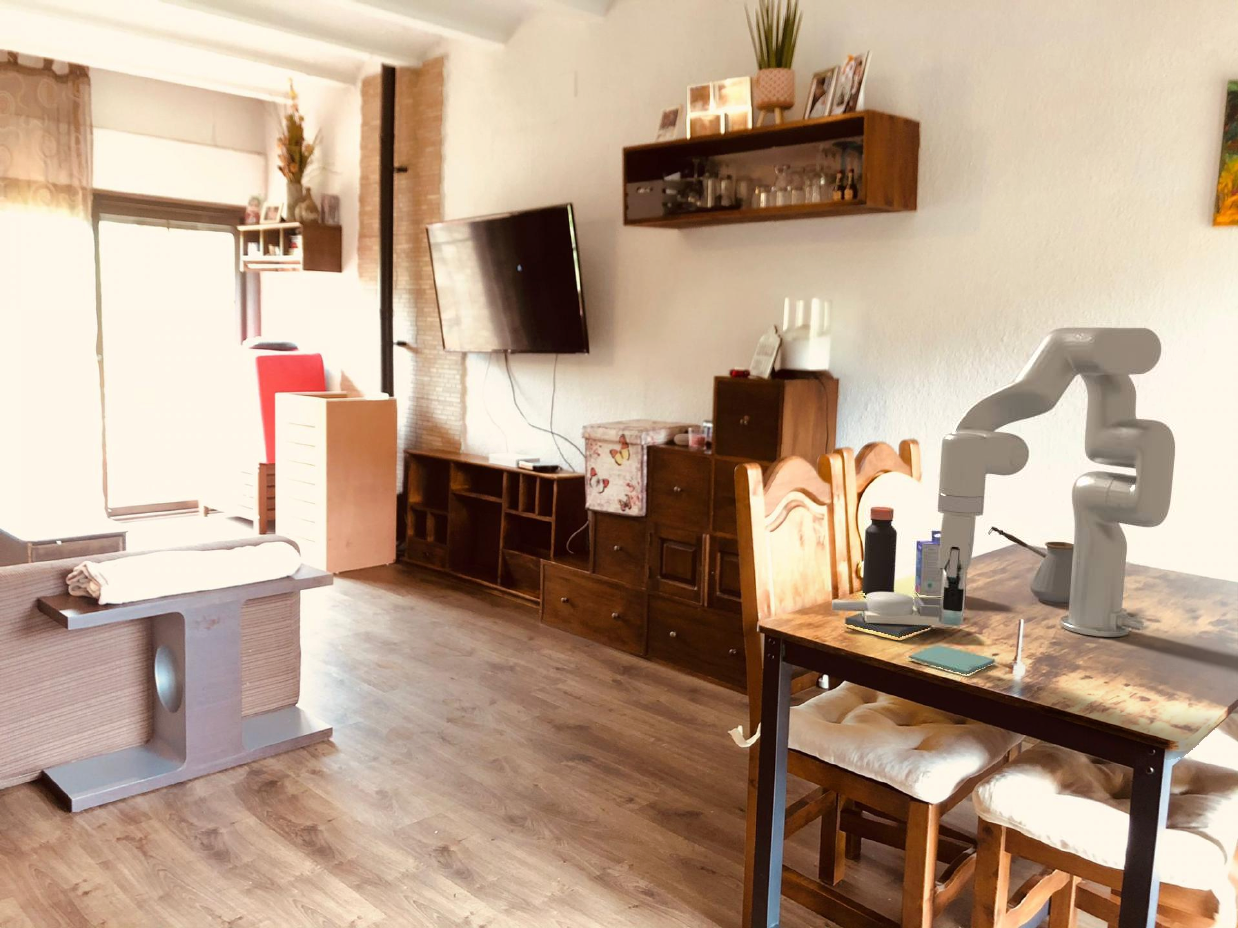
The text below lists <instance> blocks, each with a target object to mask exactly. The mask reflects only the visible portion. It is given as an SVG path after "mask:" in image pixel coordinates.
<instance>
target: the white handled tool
mask: <svg viewBox="0 0 1238 928" xmlns="http://www.w3.org/2000/svg"><path fill="white" fill-rule="evenodd" d="M940 601H941V598H937V597H919V596H913V597H912V596H910V595H907V594H904V593H898V592H894V593H893V592H873V593H869V594H867V595H866V598H865V600H864V601H863V600H861V601H860V600H842V599H841V600H839V599H836V600H835V599H833V600H832V601H831V611H843V612H844V611H845V612H859V613H861V614H862V615H863V617H864V619H865V621H866V623H888V624H911V625H932V626H939V627H954V626H953V625H946V624H942V623H940V622H939V613H940ZM956 627H958V628H959V627H961V625H959V626H956Z"/></svg>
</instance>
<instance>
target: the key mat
mask: <svg viewBox="0 0 1238 928" xmlns="http://www.w3.org/2000/svg"><path fill="white" fill-rule="evenodd" d="M909 658H911V659H915V660H917V661H921V662H923V663H927V664H929V665H934V666H936V667H941V668H943V669H947V670H951V671H953V672H959V673H961V674H966V675H967V674H970V673H972V672H975V671H976V670H979V669H982V668H984V667H987V666H988V665H991V664H993V663H995V662H996V659H995V658H991V657H989V656H985V655H980V654H976V653H973V652H972V653H971V652H969V651H964V650H961V649H956V648H952V647H949V646H945V645H941V644H936V645H933V646H930V647H928V648H926V649H922V650H920V651H918V652H915V653H912V654H910V655H908V659H909Z"/></svg>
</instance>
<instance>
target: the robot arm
mask: <svg viewBox="0 0 1238 928" xmlns="http://www.w3.org/2000/svg"><path fill="white" fill-rule="evenodd" d="M1161 355H1162V343H1161V340H1160V338H1159V337H1158V335H1157V334H1156V332H1154V331H1153V330H1151V329H1150V328H1146V327H1060V328H1057V329H1056V328H1055V329H1053V330H1051V331H1050V332H1048V333H1047V334H1046V335H1045V336H1043V339H1042V340H1041V341H1040V342H1039V343H1038V345H1037V347H1035V349H1034V350H1033V353H1031V355H1030V357H1029V358H1028V359H1027V360H1026V362H1025V363H1024V365H1023V367H1022V368H1021V369H1020V371H1019V372H1018V373H1017V375H1016V376H1015V378H1014V379H1013V380H1012V381H1011V382H1010V383H1008V384H1006V385H1004V386H1002V387H1000V388H998V389H997V390H995V391H993V392H992V393H989V395H987V396H985V397H984V398H982V399H980V400H979V401H977V402H976V403H974V404H973V405H972V406H971V407H969V409H967V411H966V412H965V413H963V415H962V416H961V418H960V420H958V422H957V423H956V424H955V426H954V428H953V429H952V431H951V433H948V434H946V435H945V436H944V437H943V438H942V441H941V451H940V453H941V454H940V466H939V467H940V468H939V469H940V470H939V485H938V486H939V487H938V498H937V499H938V502H937V512H938V513H940V514H942V520H941V526H940V527H941V528H940V531H941V534H940V536H939V537H940V547H939V558H938V569H939V570H942V568H945V566H946V564H947V570H946V582H945V587H944V597H943V609H944V610H950V611H957V612H961V611H962V608H963V593H964V589H962V584H963V574H964V572H966V571H967V572H968V570H969V567H970V565H971V562H972V557H973V551H974V543H975V532H976V531H975V530H976V517H980V516H983V515H984V507H985V493H986V492H985V490H986V477H987V475H988V474H989V475H996V476H1004V477H1005V476H1011V475H1015V474H1017V473H1019V472H1021V470H1023V469H1024V468H1025V467H1026V465H1027V463H1028V460H1029V457H1030V450H1029V447H1028V444H1027V443H1026V441H1025V440H1024V438H1022V437H1020V436H1019V435H1016V434H1014V433H1010V432H1003V431H997V430H998V429H1000V428H1002V427H1004V426H1007V425H1009V424H1012V423H1015V422H1019V421H1024V420H1028V419H1031V418H1035V417H1037V416H1040V415H1043V414H1046V413H1048V412H1050V411H1052V410H1053V409H1054V408H1055V407H1056V405H1057V404H1058V403H1059V401H1060V399H1061V398H1062V396H1063V395H1064V393H1065V392H1066V391H1067V389H1068V387H1070V385H1071V383H1073V381H1074V379H1075V377H1077V376H1078V375H1079V376H1080V378H1081V379H1082V380H1083V383H1084V385H1085V388H1086V391H1087V392H1086V393H1087V406H1086V417H1085V418H1086V419H1085V420H1086V421H1085V432H1084V433H1085V435H1084V453H1085V456H1086V457H1087V459H1088V460H1089V461H1091V462H1093V463H1096V464H1100V465H1105V466H1111V467H1120V468H1121V467H1122V468H1126V469H1127V468H1128V469H1135V473H1136V475H1134V474H1133V475H1132V474H1126V473H1118V472H1112V471H1103V470H1102V471H1099V470H1096V471H1094V470H1093V471H1088V472H1085V473H1083V474H1081V475H1080V476H1079V477H1078V478H1076V480H1075V481H1074V483H1073V486H1072V489H1071V503H1072V511H1073V517H1074V519H1073V520H1074V534H1073V535H1074V537H1073V544H1074V550H1073V562H1072V576H1071V589H1070V603H1069V606H1068V614H1066V615H1063V616H1061V617H1060V618H1059V625H1060V626H1061V627H1062V628H1064V629H1065V630H1067V631H1070V632H1073V633H1077V634H1080V635H1081V634H1082V635H1085V636H1093V637H1094V636H1095V637H1101V638H1103V637H1105V638H1116V637H1125V636H1126V635H1129V633H1130V629H1131V630H1135V631H1143V629H1144V621H1143V620H1142V619H1141V618H1139V617H1131V616H1129V614H1128V608H1123V599H1124V588H1125V575H1126V564H1127V562H1126V561H1127V554H1128V543H1127V538H1126V535H1125V533H1124V530H1123V528H1122V527H1121V525H1120V524H1123V525H1128V526H1133V527H1134V526H1136V527H1141V528H1154V527H1157V526H1160V525H1161V524H1162V523H1163V522H1164V521H1165V520H1166V518H1167V516H1168V514H1169V511H1170V507H1171V499H1172V489H1173V481H1174V480H1173V479H1174V469H1175V459H1176V457H1175V456H1176V442H1175V437H1174V433H1173V431H1172V430H1171V428H1170V427H1169V426H1168V425H1167V424H1165V423H1164V422H1162V421H1160V420H1159V421H1158V420H1155V419H1144V418H1137V416H1136V415H1137V414H1136V413H1137V411H1136V408H1137V390H1136V387H1135V384H1134V382H1133V380H1132V378H1131V376H1132V375H1144V374H1147V373H1149V372H1150V371H1152V369H1154V368H1155V367H1156V365H1158V363H1159V361H1160V358H1161V357H1162V356H1161ZM958 567H959V568H961V571H957V568H958ZM957 574H960V576H957ZM966 592H967V589H966V590H965V598H966V595H967V593H966ZM965 604H966V601H965V602H964V606H965Z"/></svg>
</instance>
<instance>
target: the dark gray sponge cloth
mask: <svg viewBox="0 0 1238 928" xmlns="http://www.w3.org/2000/svg"><path fill="white" fill-rule="evenodd" d="M844 620H845V621H844V625H845V624H847V625H853V626H855V627H860V628H863V629H868V630H873V631H876V632H881V633H884V634H888V635H891V636H895V637H898V638H900V637H902V636H906V635H909V634H912V633H914V632H918V631H921V630H925V629H928V628H930V627H931V628H932V627H933V625H911V624H888V623H866V621H865V619H864V617H863V615H862V614H861V612H859V613H856V614H853V615H850V616H846V617H845V619H844Z"/></svg>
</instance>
